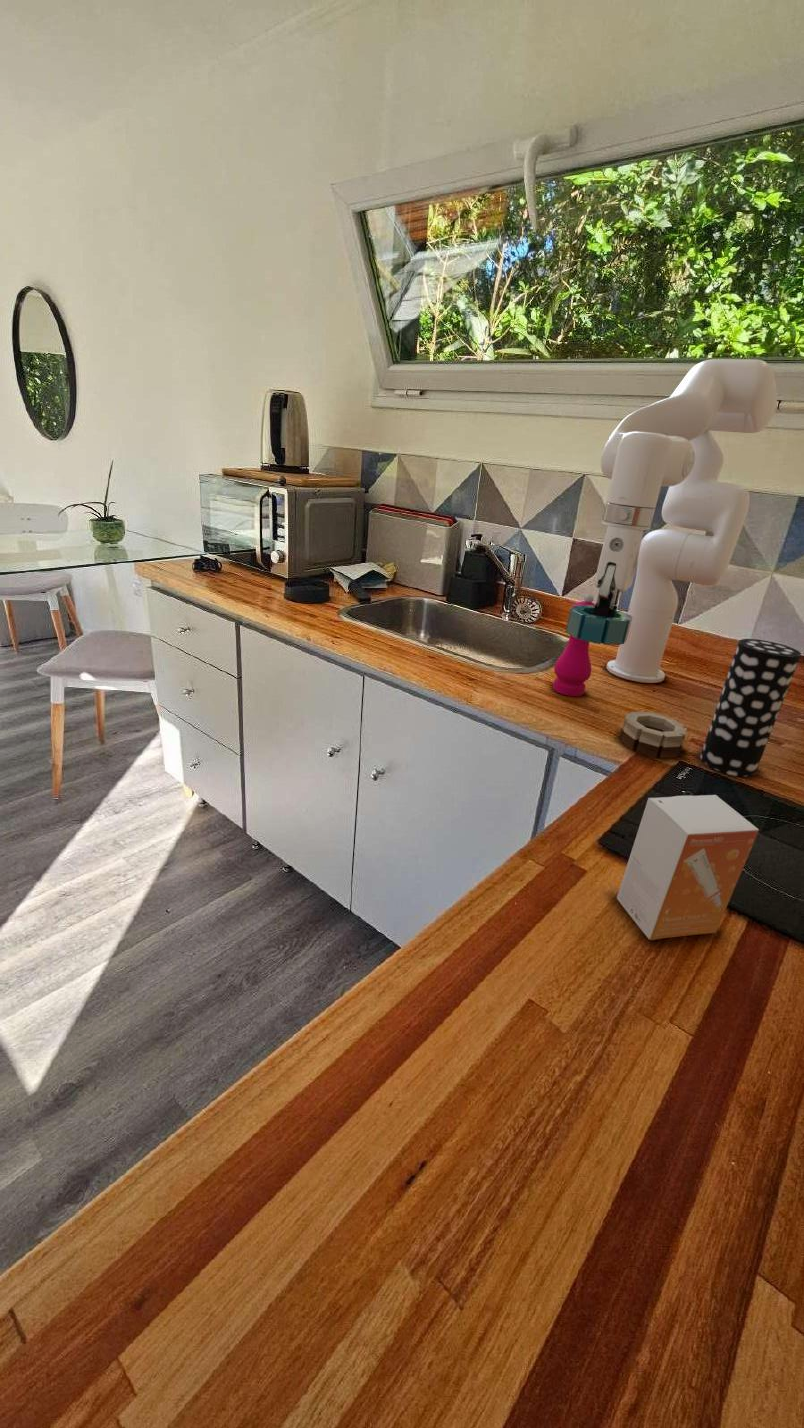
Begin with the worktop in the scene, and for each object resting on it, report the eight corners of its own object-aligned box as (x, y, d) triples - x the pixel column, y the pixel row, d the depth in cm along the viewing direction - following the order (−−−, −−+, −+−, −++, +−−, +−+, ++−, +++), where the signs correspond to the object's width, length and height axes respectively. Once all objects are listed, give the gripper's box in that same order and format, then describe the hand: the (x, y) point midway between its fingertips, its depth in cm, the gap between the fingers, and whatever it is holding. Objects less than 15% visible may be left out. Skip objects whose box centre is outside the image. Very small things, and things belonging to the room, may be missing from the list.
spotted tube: (750, 758, 100) (793, 645, 92) (760, 781, 93) (808, 660, 84) (697, 747, 102) (734, 635, 94) (703, 768, 95) (744, 649, 87)
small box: (649, 943, 59) (687, 834, 53) (614, 898, 64) (646, 796, 59) (718, 934, 61) (761, 829, 55) (678, 892, 66) (715, 792, 61)
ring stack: (625, 727, 107) (630, 706, 106) (681, 742, 103) (688, 721, 102) (615, 746, 99) (621, 725, 98) (676, 764, 96) (684, 741, 94)
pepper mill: (587, 699, 118) (611, 600, 110) (550, 693, 119) (571, 595, 111) (584, 687, 124) (607, 592, 116) (549, 681, 125) (569, 587, 117)
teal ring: (574, 624, 106) (578, 602, 104) (629, 636, 102) (635, 613, 100) (560, 635, 98) (565, 611, 96) (620, 648, 94) (626, 624, 92)
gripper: (645, 523, 87) (615, 643, 95) (657, 518, 100) (630, 624, 108) (593, 516, 90) (568, 633, 98) (612, 512, 103) (588, 615, 111)
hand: (601, 627), depth 103 cm, fingers closed on teal ring, 2 cm apart
